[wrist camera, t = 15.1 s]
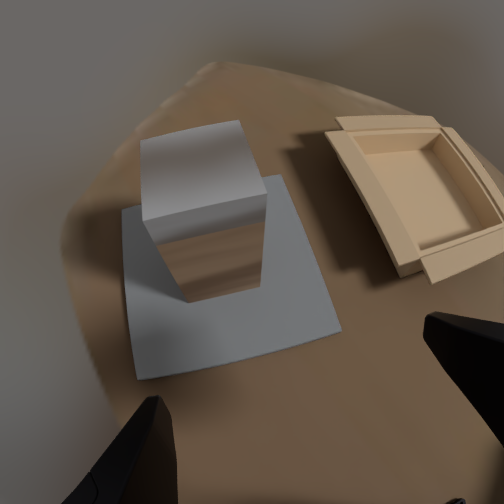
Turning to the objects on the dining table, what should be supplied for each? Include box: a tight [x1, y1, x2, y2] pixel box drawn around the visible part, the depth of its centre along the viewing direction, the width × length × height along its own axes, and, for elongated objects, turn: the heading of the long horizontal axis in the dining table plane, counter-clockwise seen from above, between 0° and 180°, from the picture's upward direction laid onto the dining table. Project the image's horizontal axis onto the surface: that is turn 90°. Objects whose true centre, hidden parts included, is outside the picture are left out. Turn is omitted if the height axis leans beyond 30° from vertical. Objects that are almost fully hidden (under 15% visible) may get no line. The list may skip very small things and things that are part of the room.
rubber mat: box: [122, 174, 342, 380], centre depth 22 cm, size 14×14×1 cm
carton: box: [324, 115, 504, 285], centre depth 24 cm, size 17×17×4 cm
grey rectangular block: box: [140, 120, 267, 303], centre depth 17 cm, size 5×5×10 cm
